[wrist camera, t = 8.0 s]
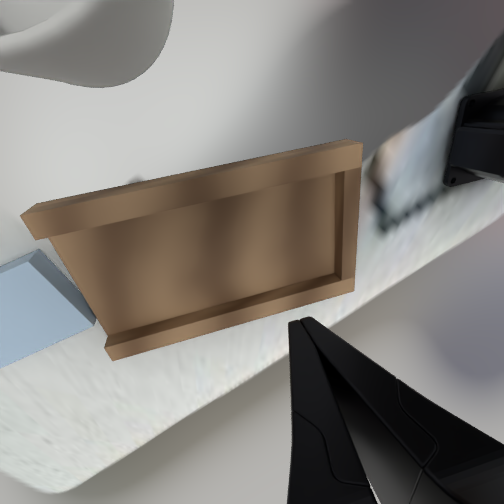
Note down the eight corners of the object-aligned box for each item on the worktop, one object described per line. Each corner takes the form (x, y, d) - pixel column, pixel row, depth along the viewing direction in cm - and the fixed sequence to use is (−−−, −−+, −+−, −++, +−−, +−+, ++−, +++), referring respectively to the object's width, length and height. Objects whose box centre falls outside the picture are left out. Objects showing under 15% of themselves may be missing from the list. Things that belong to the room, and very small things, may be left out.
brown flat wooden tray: (346, 138, 19) (362, 142, 17) (341, 278, 25) (354, 291, 23) (36, 203, 16) (19, 215, 14) (117, 341, 22) (112, 361, 20)
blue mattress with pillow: (42, 245, 18) (23, 266, 16) (100, 307, 21) (91, 331, 19) (-89, 304, 18) (-126, 333, 15) (-9, 357, 21) (-31, 387, 18)
